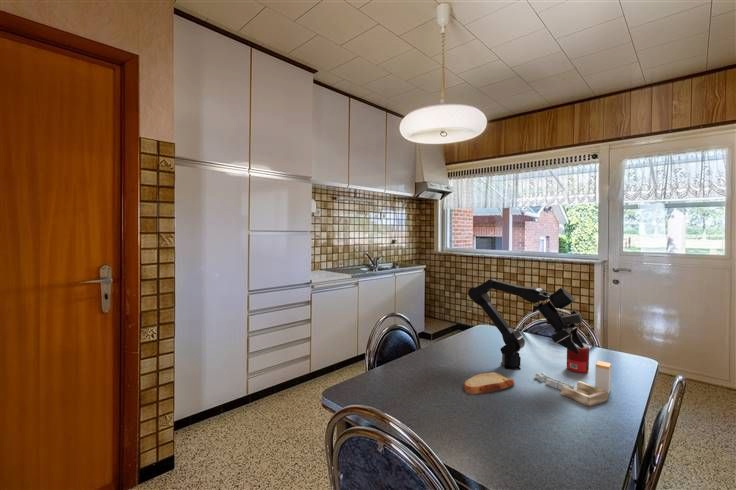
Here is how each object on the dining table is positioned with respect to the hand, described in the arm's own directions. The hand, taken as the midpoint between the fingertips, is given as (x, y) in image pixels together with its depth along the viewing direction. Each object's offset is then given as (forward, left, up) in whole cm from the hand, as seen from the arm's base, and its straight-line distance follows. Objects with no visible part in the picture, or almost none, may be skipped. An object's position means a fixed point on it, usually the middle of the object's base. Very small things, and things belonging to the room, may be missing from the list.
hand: (580, 350), depth 131 cm
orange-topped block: (+5, -5, -13) cm, 15 cm away
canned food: (+7, +14, -13) cm, 20 cm away
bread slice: (-35, -4, -13) cm, 38 cm away
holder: (-5, -11, -13) cm, 18 cm away
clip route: (-10, -1, -13) cm, 17 cm away
